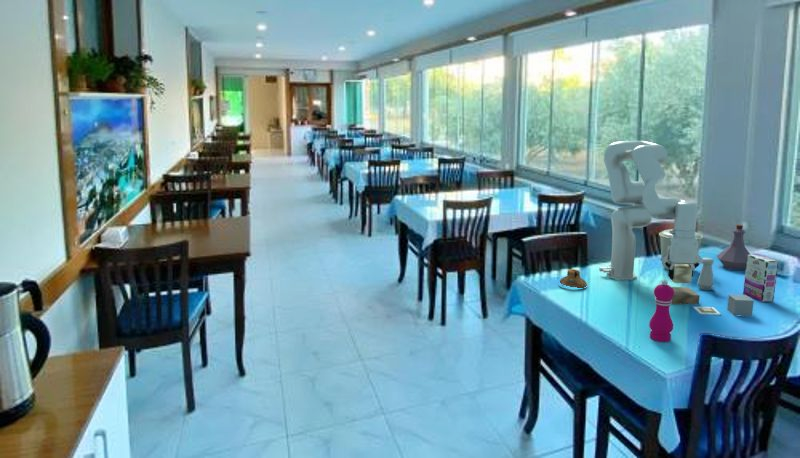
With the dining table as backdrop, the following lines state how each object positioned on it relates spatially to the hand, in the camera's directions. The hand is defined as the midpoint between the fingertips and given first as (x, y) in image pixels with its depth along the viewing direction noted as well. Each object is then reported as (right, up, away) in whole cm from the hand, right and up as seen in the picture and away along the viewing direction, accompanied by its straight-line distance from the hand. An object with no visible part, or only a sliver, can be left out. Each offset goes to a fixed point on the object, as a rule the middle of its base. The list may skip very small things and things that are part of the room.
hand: (680, 278), depth 219 cm
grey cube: (+15, -12, -13) cm, 23 cm away
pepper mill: (-24, -17, -34) cm, 45 cm away
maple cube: (0, -1, 0) cm, 1 cm away
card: (+4, -11, -11) cm, 16 cm away
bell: (-36, -6, +21) cm, 42 cm away
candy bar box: (+32, -8, +2) cm, 33 cm away
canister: (+20, 0, +41) cm, 46 cm away
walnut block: (+1, -9, +1) cm, 9 cm away
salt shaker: (+17, -6, +14) cm, 23 cm away
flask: (+47, +1, +43) cm, 64 cm away
